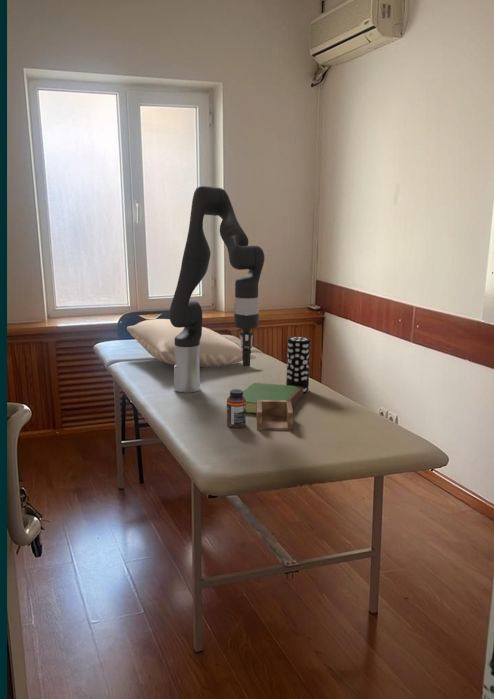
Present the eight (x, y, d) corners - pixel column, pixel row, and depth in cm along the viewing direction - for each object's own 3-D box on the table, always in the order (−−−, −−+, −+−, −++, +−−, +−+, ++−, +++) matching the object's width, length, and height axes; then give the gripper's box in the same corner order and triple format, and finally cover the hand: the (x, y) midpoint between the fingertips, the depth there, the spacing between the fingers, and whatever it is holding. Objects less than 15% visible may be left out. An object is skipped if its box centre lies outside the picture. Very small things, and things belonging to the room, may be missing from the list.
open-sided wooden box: (256, 429, 189) (257, 412, 188) (256, 416, 201) (256, 399, 199) (292, 430, 189) (293, 412, 188) (290, 417, 201) (290, 400, 199)
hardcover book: (285, 416, 200) (285, 405, 199) (231, 411, 206) (231, 400, 205) (303, 395, 223) (303, 386, 222) (254, 391, 229) (254, 382, 228)
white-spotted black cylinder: (307, 395, 224) (309, 342, 220) (284, 393, 226) (286, 340, 221) (309, 388, 232) (311, 337, 227) (287, 387, 234) (289, 336, 229)
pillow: (157, 377, 237) (254, 379, 260) (164, 332, 233) (261, 337, 256) (121, 349, 274) (209, 352, 296) (126, 309, 270) (215, 315, 293)
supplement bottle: (226, 421, 196) (226, 388, 193) (244, 421, 196) (245, 387, 193) (227, 428, 190) (227, 393, 187) (246, 428, 190) (246, 393, 188)
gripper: (234, 308, 195) (234, 357, 198) (234, 315, 181) (234, 368, 185) (257, 308, 195) (257, 357, 199) (259, 315, 181) (259, 368, 185)
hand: (246, 362), depth 192 cm, fingers open, 8 cm apart
